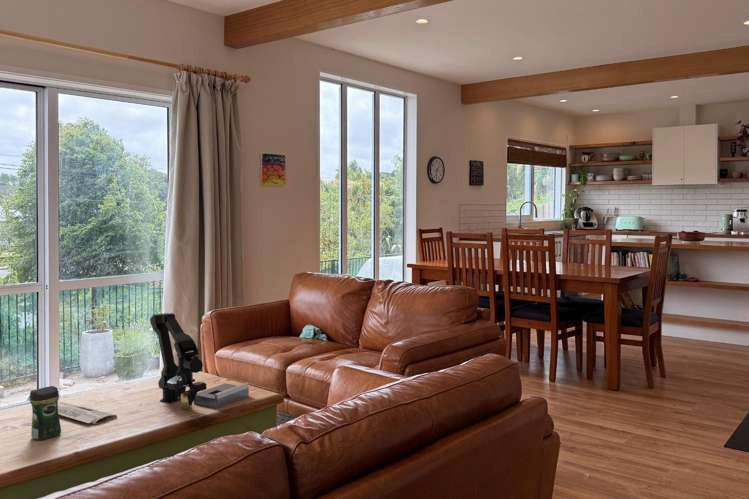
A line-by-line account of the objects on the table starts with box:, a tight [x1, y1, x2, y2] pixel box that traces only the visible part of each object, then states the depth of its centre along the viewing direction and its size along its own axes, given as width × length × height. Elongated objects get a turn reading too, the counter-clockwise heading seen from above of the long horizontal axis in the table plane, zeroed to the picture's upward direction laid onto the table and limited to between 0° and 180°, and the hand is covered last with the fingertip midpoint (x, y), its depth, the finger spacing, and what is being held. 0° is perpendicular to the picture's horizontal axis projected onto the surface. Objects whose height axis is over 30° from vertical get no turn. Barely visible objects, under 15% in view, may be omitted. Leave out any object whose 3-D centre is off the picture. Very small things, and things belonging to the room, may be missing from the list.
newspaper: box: [58, 401, 118, 425], centre depth 264 cm, size 35×12×4 cm, turn 61°
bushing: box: [180, 390, 193, 412], centre depth 271 cm, size 4×4×7 cm
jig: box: [193, 382, 250, 409], centre depth 284 cm, size 14×20×6 cm
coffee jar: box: [29, 385, 62, 441], centre depth 239 cm, size 10×8×19 cm
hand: (186, 404), depth 271 cm, fingers closed on bushing, 4 cm apart
